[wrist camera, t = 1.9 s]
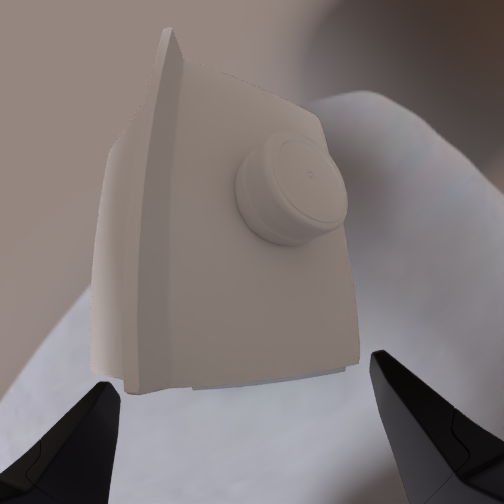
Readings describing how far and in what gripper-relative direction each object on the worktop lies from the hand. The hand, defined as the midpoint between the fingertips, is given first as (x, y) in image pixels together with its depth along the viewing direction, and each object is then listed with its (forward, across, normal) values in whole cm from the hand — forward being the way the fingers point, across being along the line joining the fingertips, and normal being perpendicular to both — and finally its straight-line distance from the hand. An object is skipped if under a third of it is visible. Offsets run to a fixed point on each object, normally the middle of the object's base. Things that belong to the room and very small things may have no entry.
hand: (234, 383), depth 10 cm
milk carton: (+12, 0, +6) cm, 13 cm away
